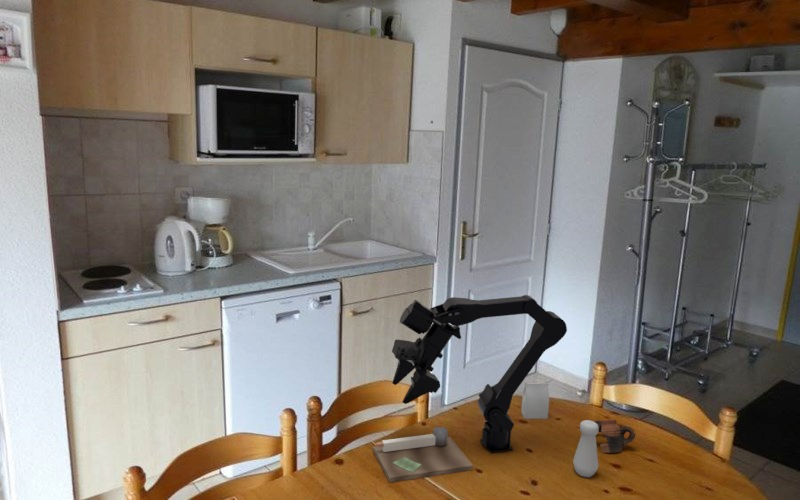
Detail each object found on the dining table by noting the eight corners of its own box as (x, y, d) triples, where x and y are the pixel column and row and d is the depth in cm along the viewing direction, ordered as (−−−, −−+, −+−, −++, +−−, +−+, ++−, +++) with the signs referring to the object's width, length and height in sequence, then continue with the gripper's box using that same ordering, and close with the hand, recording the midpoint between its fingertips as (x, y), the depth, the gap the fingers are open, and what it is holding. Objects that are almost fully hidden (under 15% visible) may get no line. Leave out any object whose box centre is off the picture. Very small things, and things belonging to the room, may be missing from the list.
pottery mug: (590, 454, 151) (584, 421, 153) (591, 454, 159) (585, 422, 162) (639, 451, 147) (632, 417, 150) (637, 450, 156) (631, 418, 159)
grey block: (547, 418, 169) (550, 386, 167) (524, 418, 168) (527, 386, 166) (543, 412, 172) (546, 381, 171) (521, 413, 172) (523, 381, 170)
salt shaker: (598, 481, 138) (603, 430, 135) (573, 477, 139) (578, 426, 136) (595, 468, 143) (600, 418, 141) (571, 464, 144) (576, 415, 142)
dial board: (449, 440, 154) (449, 435, 154) (472, 469, 140) (473, 464, 140) (372, 450, 147) (372, 445, 147) (389, 482, 134) (389, 477, 134)
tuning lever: (443, 438, 152) (444, 426, 151) (449, 445, 148) (449, 432, 148) (374, 447, 146) (375, 434, 145) (378, 455, 143) (378, 441, 142)
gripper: (397, 314, 151) (364, 363, 152) (420, 346, 134) (382, 401, 135) (430, 332, 155) (398, 379, 157) (456, 365, 138) (419, 418, 140)
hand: (398, 393), depth 147 cm, fingers open, 9 cm apart
